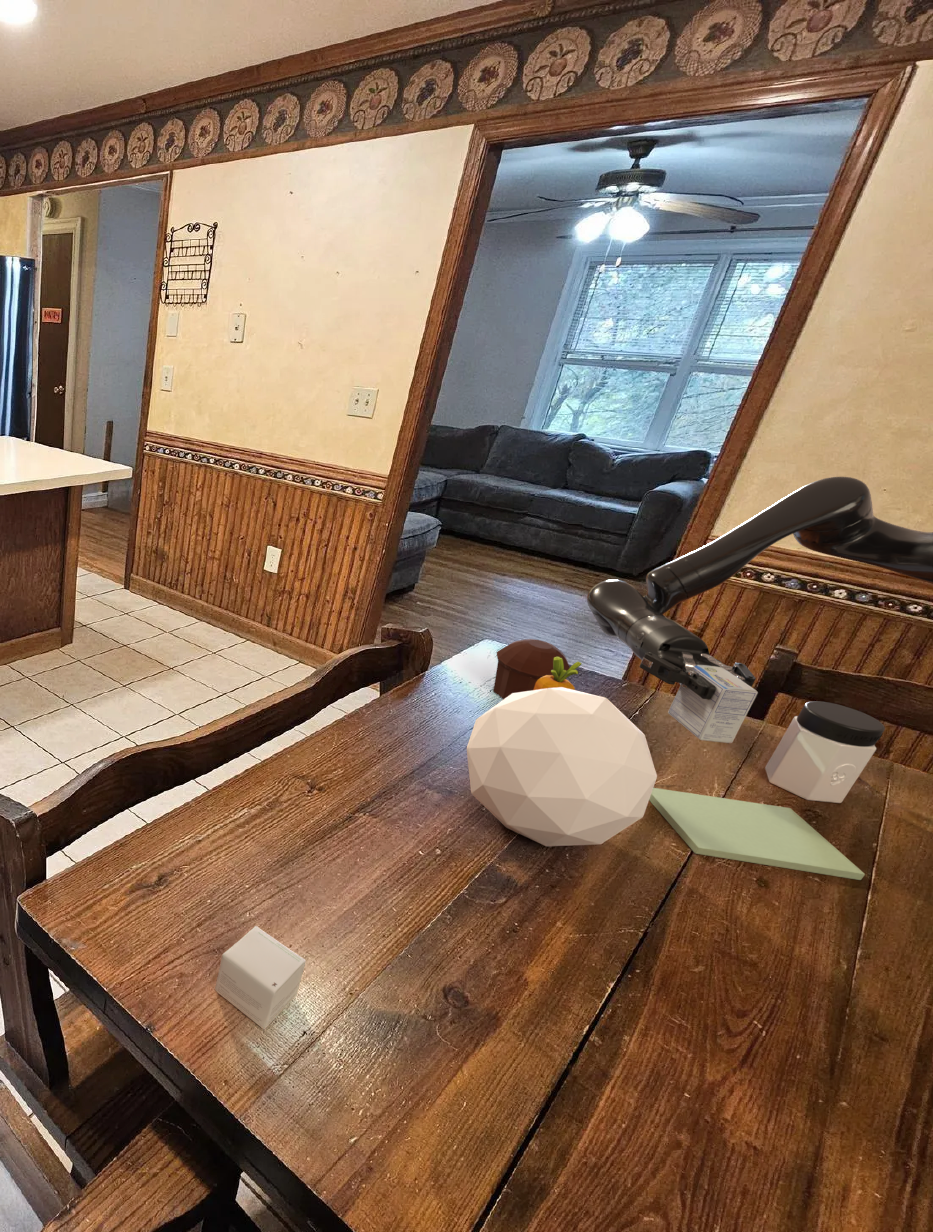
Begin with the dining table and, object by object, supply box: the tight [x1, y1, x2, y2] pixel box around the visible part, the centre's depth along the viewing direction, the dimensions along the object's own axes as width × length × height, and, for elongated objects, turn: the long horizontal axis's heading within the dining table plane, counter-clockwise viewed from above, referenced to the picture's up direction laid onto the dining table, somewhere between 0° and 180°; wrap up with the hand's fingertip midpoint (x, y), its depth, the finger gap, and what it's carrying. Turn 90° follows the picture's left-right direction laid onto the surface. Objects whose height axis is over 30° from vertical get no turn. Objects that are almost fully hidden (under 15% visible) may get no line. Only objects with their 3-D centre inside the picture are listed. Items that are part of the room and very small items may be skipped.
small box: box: [214, 925, 307, 1030], centre depth 66 cm, size 6×6×5 cm
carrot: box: [533, 657, 583, 690], centre depth 108 cm, size 5×5×15 cm
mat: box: [649, 787, 866, 881], centre depth 94 cm, size 18×13×1 cm
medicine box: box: [667, 665, 759, 744], centre depth 104 cm, size 8×4×9 cm, turn 171°
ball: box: [466, 687, 658, 847], centre depth 89 cm, size 19×20×20 cm
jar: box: [764, 700, 886, 804], centre depth 102 cm, size 9×8×12 cm
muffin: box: [492, 638, 571, 700], centre depth 123 cm, size 12×11×10 cm
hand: (730, 696), depth 100 cm, fingers closed on medicine box, 4 cm apart
